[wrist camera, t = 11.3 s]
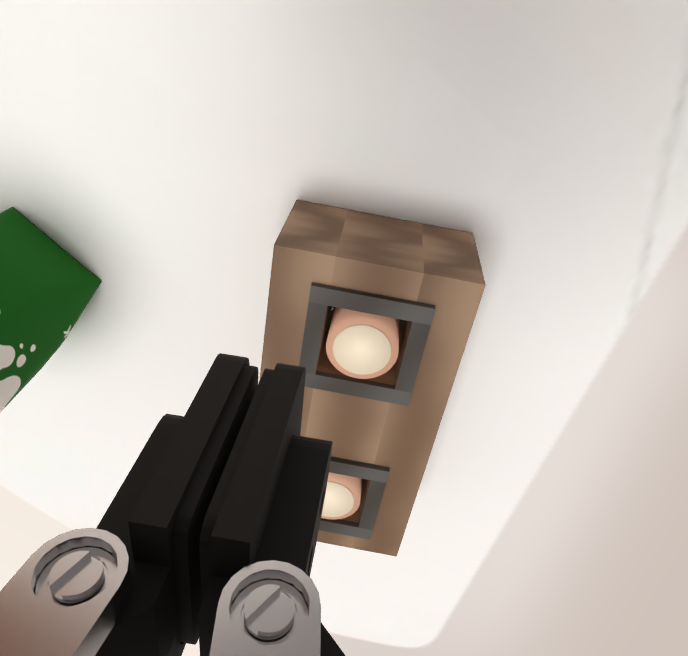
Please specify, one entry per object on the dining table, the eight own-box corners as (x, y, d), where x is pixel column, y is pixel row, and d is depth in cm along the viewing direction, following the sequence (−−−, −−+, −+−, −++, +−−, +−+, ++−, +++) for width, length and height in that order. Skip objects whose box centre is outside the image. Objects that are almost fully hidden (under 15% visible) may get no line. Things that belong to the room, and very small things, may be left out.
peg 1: (371, 413, 43) (365, 484, 37) (361, 452, 45) (354, 526, 39) (318, 403, 43) (303, 473, 37) (311, 442, 45) (296, 515, 39)
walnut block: (472, 233, 36) (486, 288, 29) (398, 483, 47) (396, 561, 41) (296, 199, 36) (272, 247, 29) (264, 457, 47) (242, 532, 41)
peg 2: (406, 269, 37) (405, 327, 31) (393, 322, 39) (390, 386, 33) (344, 257, 37) (331, 312, 31) (334, 310, 39) (320, 373, 33)
